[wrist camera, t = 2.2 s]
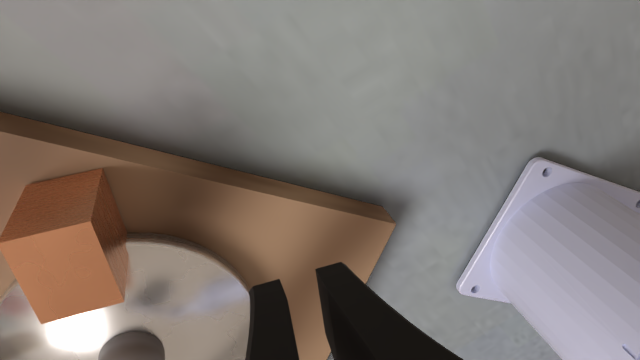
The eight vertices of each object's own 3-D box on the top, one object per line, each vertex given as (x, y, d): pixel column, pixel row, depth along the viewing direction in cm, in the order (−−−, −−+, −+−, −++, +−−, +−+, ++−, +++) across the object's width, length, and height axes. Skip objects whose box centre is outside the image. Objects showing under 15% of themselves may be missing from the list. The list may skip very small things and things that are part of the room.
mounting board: (383, 206, 23) (420, 255, 19) (269, 435, 28) (283, 504, 24) (-107, 85, 15) (-178, 130, 12) (-140, 425, 20) (-197, 521, 17)
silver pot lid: (274, 381, 24) (290, 447, 21) (50, 452, 22) (33, 534, 19) (215, 142, 17) (227, 188, 14) (-105, 213, 16) (-165, 282, 13)
